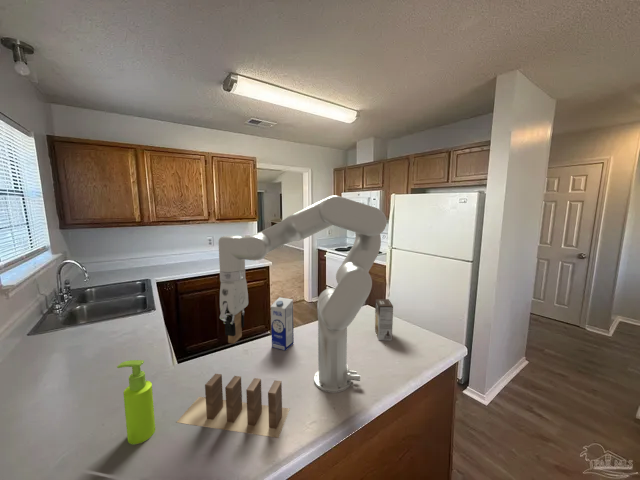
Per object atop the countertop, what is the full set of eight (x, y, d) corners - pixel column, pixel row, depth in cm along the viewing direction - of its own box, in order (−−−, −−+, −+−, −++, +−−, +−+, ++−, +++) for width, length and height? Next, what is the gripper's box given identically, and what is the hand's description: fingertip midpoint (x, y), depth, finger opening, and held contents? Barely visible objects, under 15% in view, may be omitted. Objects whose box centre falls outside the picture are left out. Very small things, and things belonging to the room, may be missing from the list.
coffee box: (374, 331, 125) (375, 298, 123) (387, 331, 125) (388, 298, 123) (378, 340, 116) (379, 305, 114) (392, 340, 116) (393, 305, 114)
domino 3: (242, 409, 76) (241, 376, 74) (233, 422, 71) (232, 388, 70) (235, 408, 76) (234, 375, 75) (226, 421, 71) (225, 387, 70)
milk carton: (294, 343, 114) (293, 298, 112) (285, 350, 108) (284, 304, 106) (280, 340, 117) (279, 296, 115) (271, 347, 111) (270, 301, 109)
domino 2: (241, 336, 86) (240, 306, 85) (234, 343, 81) (233, 312, 80) (236, 335, 86) (235, 306, 85) (228, 342, 82) (227, 312, 80)
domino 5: (282, 414, 73) (281, 381, 72) (276, 428, 69) (275, 393, 67) (275, 413, 74) (274, 380, 73) (268, 427, 69) (267, 392, 68)
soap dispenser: (132, 427, 70) (126, 356, 68) (159, 425, 70) (154, 355, 68) (117, 446, 64) (110, 369, 62) (147, 444, 64) (141, 368, 62)
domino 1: (223, 406, 77) (221, 374, 75) (213, 419, 72) (211, 385, 71) (216, 405, 77) (215, 373, 76) (206, 418, 72) (204, 384, 71)
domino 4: (261, 411, 74) (261, 378, 73) (254, 425, 70) (253, 390, 68) (255, 410, 75) (254, 378, 74) (247, 424, 70) (246, 389, 69)
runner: (289, 409, 76) (289, 408, 76) (278, 439, 66) (278, 437, 66) (199, 397, 81) (199, 396, 81) (176, 423, 71) (176, 422, 71)
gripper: (229, 283, 73) (232, 345, 74) (255, 269, 89) (257, 321, 91) (205, 281, 74) (208, 343, 76) (235, 269, 91) (237, 319, 92)
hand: (235, 330), depth 83 cm, fingers closed on domino 2, 4 cm apart
